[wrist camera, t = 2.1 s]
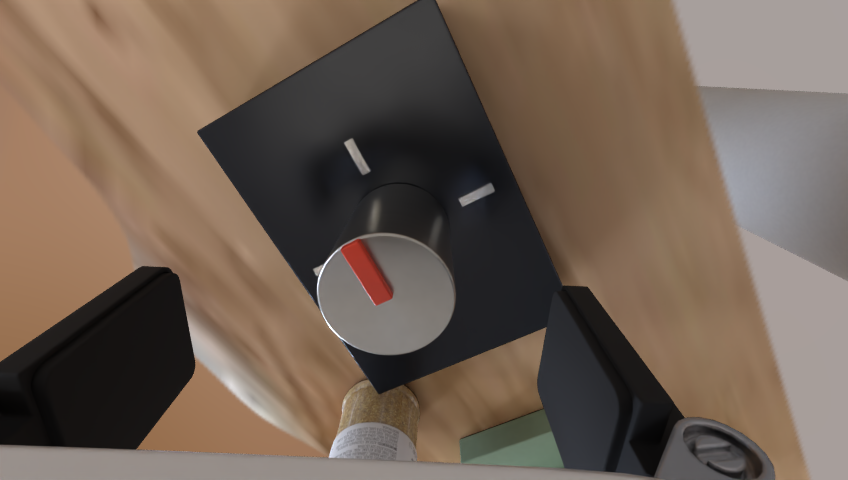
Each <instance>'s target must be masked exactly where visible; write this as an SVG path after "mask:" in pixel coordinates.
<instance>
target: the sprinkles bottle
mask: <svg viewBox="0 0 848 480" xmlns="http://www.w3.org/2000/svg"><path fill="white" fill-rule="evenodd" d="M419 417H420V408H419V404H418V401H417V398H416V397H415V395H414V394H413V393H412V392H411V391H410V390H409V389H408V388H407V387H406V386H404V385H402V386H399V387H397V388H394V389H392V390H389V391H387V392H384V393H382V394H378V393H377V391H376V390H375V388H374V387H373V386H372V384H371V383H370V381H369V380H365V381H361V382H360V383H358V384H356V385H355V386H354V387H353V388H352V389H350V390H349V391H348V393H347V395H346V396H345V398H344V400H343V405H342V417H341V421H340V425H339V429H338V432H337V436H336V438H335V440H334V442H333V445H332V448H331V452H330V455H329V458H352V459H376V460H400V461H417V453H416V440H417V424H418V422H419Z"/></svg>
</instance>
